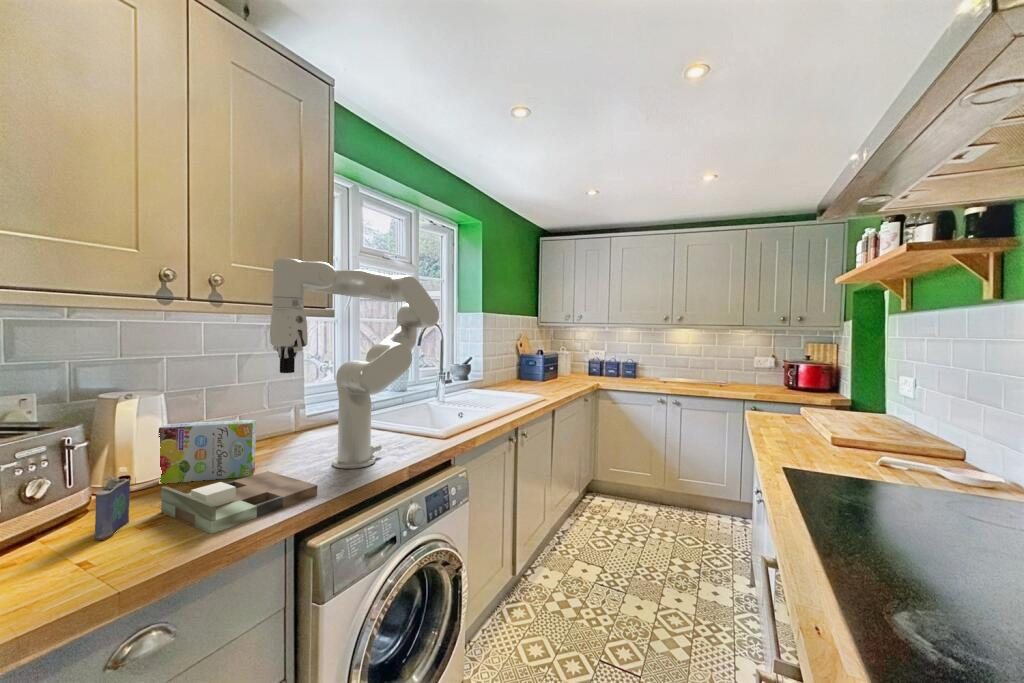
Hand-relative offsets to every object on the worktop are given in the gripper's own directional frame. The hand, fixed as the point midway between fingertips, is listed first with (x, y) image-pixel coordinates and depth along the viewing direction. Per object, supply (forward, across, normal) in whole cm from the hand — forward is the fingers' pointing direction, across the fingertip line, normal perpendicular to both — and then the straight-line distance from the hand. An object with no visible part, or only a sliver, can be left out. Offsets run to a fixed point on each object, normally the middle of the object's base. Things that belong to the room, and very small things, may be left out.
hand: (287, 372), depth 116 cm
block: (+27, -7, +22) cm, 35 cm away
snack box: (+29, +18, +10) cm, 36 cm away
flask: (+29, +1, +36) cm, 46 cm away
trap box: (+29, -7, +15) cm, 33 cm away
